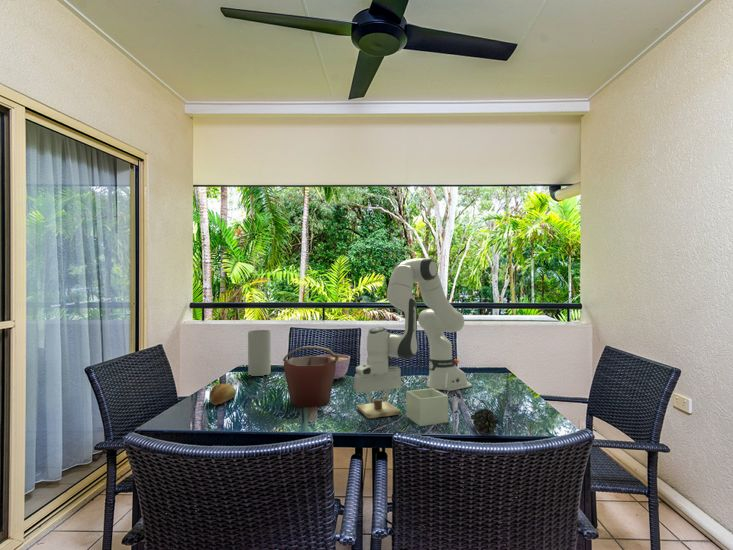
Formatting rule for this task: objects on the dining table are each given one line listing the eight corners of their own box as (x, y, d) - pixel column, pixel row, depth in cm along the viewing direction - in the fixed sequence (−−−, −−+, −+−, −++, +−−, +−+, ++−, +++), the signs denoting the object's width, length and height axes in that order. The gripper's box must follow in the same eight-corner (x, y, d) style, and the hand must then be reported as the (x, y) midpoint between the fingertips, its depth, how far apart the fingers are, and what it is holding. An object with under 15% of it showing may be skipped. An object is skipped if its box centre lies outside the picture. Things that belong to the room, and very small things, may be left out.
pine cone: (469, 398, 157) (483, 410, 142) (489, 404, 157) (505, 417, 142) (462, 420, 156) (475, 434, 141) (483, 426, 157) (498, 441, 142)
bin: (432, 412, 169) (432, 388, 169) (448, 422, 157) (447, 395, 157) (406, 416, 164) (406, 391, 164) (420, 426, 153) (419, 399, 153)
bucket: (345, 398, 190) (344, 344, 190) (324, 413, 169) (324, 352, 169) (297, 393, 198) (297, 341, 198) (273, 407, 177) (272, 349, 177)
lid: (387, 406, 178) (387, 393, 178) (400, 416, 165) (400, 403, 165) (356, 410, 173) (356, 397, 173) (368, 421, 160) (368, 407, 160)
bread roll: (203, 406, 179) (203, 388, 179) (220, 396, 194) (220, 379, 194) (224, 407, 177) (224, 389, 178) (240, 397, 192) (239, 380, 192)
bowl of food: (357, 376, 230) (357, 356, 230) (336, 384, 213) (336, 362, 214) (329, 372, 241) (329, 352, 241) (306, 379, 224) (306, 358, 224)
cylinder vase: (267, 377, 231) (267, 332, 231) (245, 377, 231) (245, 332, 231) (272, 372, 243) (272, 329, 243) (251, 372, 243) (251, 330, 244)
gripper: (397, 363, 175) (397, 396, 175) (352, 367, 168) (352, 401, 168) (403, 366, 170) (404, 400, 169) (356, 371, 162) (357, 406, 162)
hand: (377, 401), depth 169 cm, fingers open, 5 cm apart
